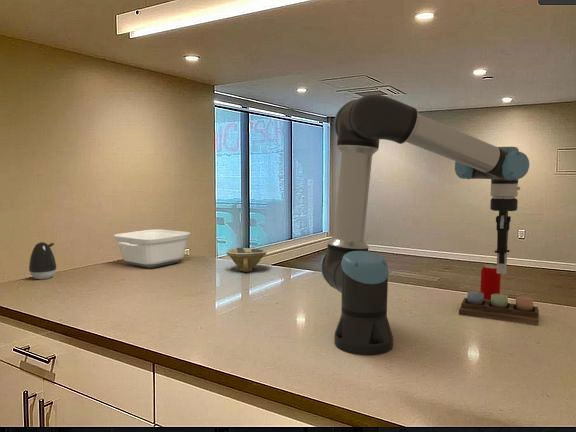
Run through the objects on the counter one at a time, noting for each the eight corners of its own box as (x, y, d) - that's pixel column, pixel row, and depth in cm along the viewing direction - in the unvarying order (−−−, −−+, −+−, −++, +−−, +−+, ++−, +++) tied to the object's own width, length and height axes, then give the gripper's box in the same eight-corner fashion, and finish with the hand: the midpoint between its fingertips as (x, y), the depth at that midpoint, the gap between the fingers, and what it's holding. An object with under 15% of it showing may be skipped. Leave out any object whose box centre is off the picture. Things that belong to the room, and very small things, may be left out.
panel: (538, 325, 135) (538, 315, 135) (458, 314, 145) (459, 305, 145) (538, 314, 145) (539, 305, 145) (464, 304, 156) (464, 296, 156)
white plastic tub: (145, 274, 202) (144, 240, 201) (104, 266, 218) (103, 235, 216) (200, 261, 231) (199, 232, 229) (160, 255, 246) (159, 228, 245)
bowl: (265, 275, 200) (265, 253, 199) (224, 274, 201) (223, 253, 200) (267, 266, 218) (267, 246, 217) (229, 266, 218) (229, 246, 217)
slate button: (482, 304, 145) (482, 295, 145) (466, 302, 147) (466, 293, 147) (484, 301, 149) (484, 292, 149) (468, 299, 152) (468, 290, 151)
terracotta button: (532, 311, 139) (533, 301, 138) (515, 309, 141) (515, 299, 141) (533, 307, 143) (533, 297, 142) (515, 305, 145) (516, 295, 145)
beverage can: (495, 303, 157) (497, 269, 156) (477, 300, 161) (478, 266, 160) (502, 300, 161) (503, 266, 160) (483, 296, 166) (485, 263, 164)
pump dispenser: (62, 277, 196) (60, 241, 195) (38, 282, 188) (36, 244, 186) (48, 274, 202) (46, 239, 200) (24, 278, 193) (22, 242, 192)
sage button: (507, 308, 142) (507, 298, 142) (490, 305, 144) (490, 296, 144) (508, 304, 146) (508, 294, 146) (491, 302, 148) (491, 292, 148)
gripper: (516, 199, 134) (513, 279, 137) (518, 196, 146) (515, 270, 148) (488, 198, 138) (486, 276, 140) (492, 196, 149) (490, 268, 152)
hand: (501, 273), depth 144 cm, fingers closed
